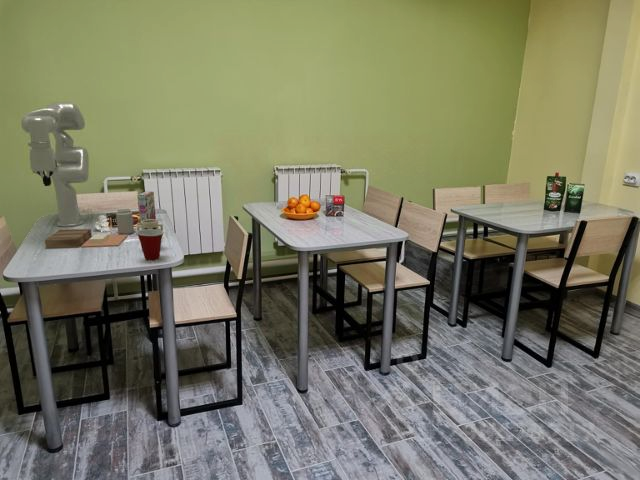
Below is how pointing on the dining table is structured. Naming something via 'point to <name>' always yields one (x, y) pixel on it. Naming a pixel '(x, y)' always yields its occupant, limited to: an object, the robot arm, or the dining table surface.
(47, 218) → the dining table surface
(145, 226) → the character mug
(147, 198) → the candy bar box
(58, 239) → the brown flat block
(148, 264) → the dining table surface
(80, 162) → the robot arm
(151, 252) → the plastic cup
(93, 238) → the tile
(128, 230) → the can
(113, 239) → the mat
